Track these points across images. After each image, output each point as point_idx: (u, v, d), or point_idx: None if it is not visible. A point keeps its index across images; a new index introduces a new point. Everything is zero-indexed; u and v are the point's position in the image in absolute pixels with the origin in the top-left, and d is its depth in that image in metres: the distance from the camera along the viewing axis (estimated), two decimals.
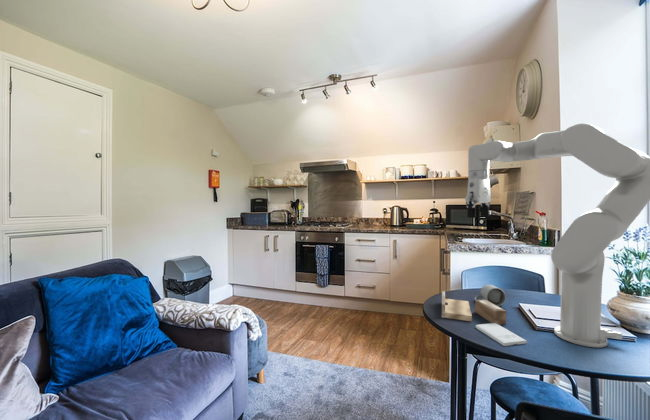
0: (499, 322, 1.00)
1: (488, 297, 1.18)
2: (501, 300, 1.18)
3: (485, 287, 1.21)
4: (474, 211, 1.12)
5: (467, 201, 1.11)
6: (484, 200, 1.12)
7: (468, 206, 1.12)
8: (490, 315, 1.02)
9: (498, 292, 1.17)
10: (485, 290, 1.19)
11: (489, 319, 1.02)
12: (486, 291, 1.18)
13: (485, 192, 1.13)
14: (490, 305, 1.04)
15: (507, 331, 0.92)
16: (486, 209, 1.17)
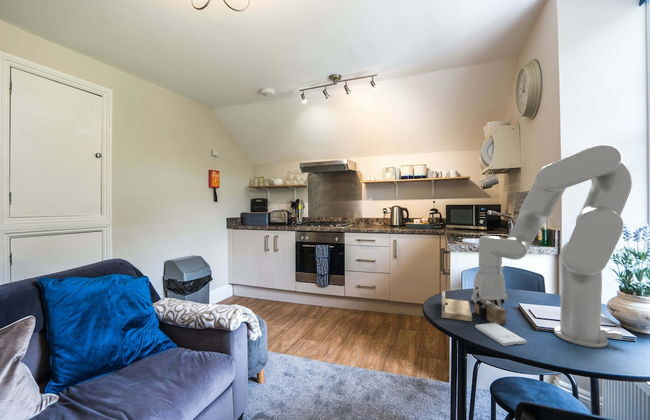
0: (499, 321, 1.00)
1: None
2: None
3: None
4: None
5: None
6: None
7: None
8: (490, 314, 1.02)
9: None
10: None
11: (489, 318, 1.02)
12: None
13: None
14: (490, 304, 1.04)
15: (507, 331, 0.92)
16: None
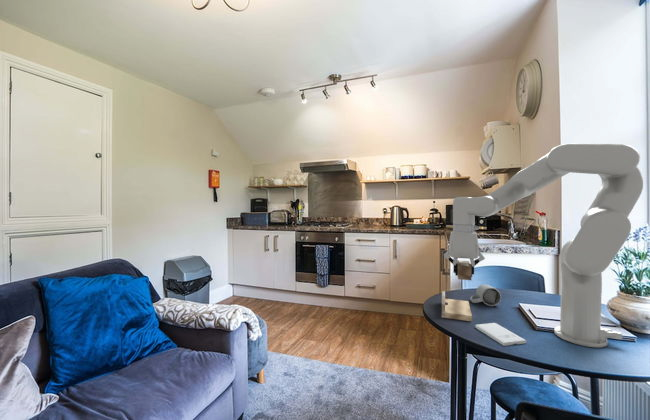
0: (463, 277, 1.04)
1: (483, 297, 1.19)
2: (496, 300, 1.18)
3: (481, 287, 1.21)
4: None
5: None
6: None
7: None
8: None
9: (493, 292, 1.18)
10: (480, 290, 1.20)
11: None
12: (481, 291, 1.18)
13: None
14: (462, 263, 1.08)
15: (507, 331, 0.92)
16: None
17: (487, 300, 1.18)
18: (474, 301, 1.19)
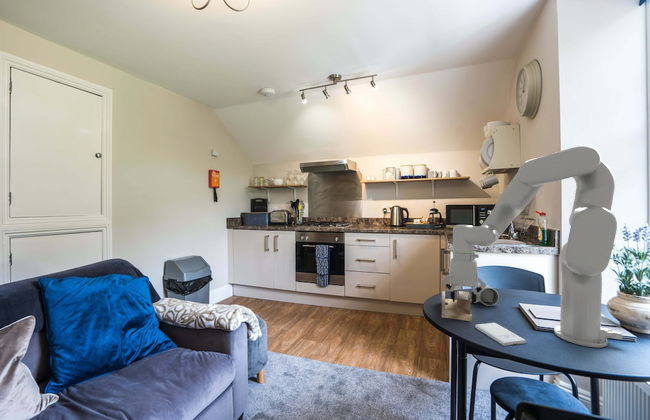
0: (462, 311, 1.05)
1: (481, 297, 1.19)
2: (494, 300, 1.18)
3: None
4: None
5: None
6: None
7: None
8: None
9: (491, 292, 1.18)
10: None
11: None
12: None
13: None
14: (462, 295, 1.09)
15: (507, 331, 0.92)
16: (454, 292, 1.11)
17: (485, 300, 1.18)
18: None
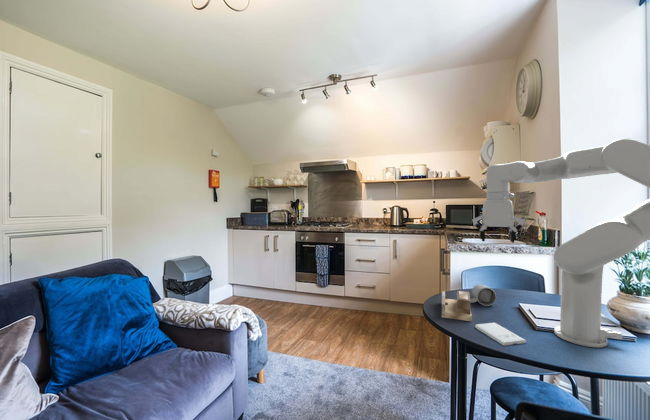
0: (462, 311, 1.05)
1: (479, 297, 1.19)
2: (492, 300, 1.18)
3: (476, 286, 1.22)
4: None
5: None
6: None
7: (517, 230, 1.04)
8: None
9: (489, 292, 1.18)
10: (476, 290, 1.20)
11: None
12: (477, 291, 1.19)
13: None
14: (462, 295, 1.09)
15: (506, 331, 0.93)
16: None
17: (482, 300, 1.19)
18: None
